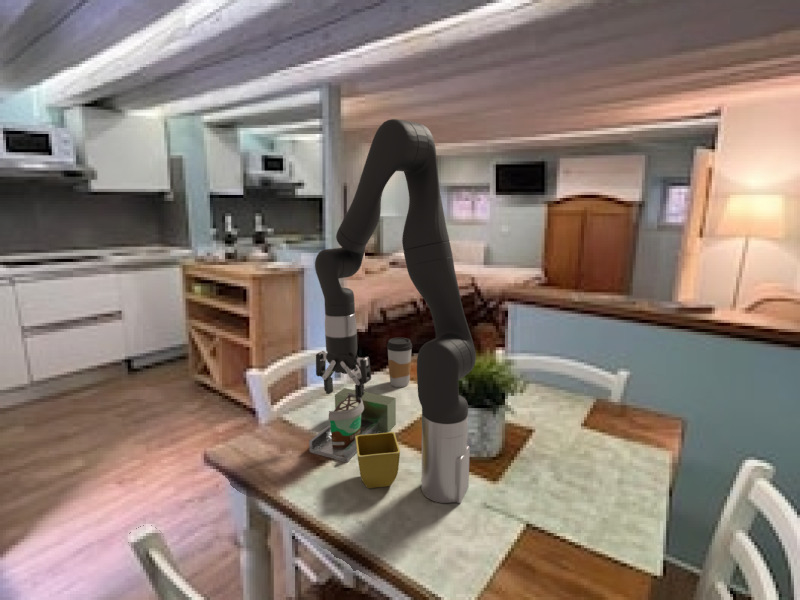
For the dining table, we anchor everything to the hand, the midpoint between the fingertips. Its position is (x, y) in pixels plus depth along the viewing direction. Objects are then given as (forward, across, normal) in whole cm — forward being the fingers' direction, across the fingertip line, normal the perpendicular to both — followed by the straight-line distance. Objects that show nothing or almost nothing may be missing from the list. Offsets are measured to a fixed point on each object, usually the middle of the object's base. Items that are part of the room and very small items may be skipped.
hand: (344, 395), depth 110 cm
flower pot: (+13, -14, +11) cm, 22 cm away
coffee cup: (+13, +4, -40) cm, 42 cm away
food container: (+12, -2, 0) cm, 12 cm away
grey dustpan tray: (+13, +1, -3) cm, 13 cm away
